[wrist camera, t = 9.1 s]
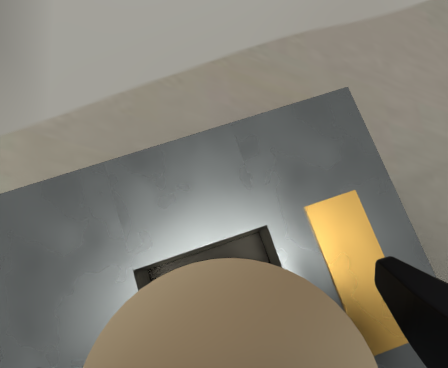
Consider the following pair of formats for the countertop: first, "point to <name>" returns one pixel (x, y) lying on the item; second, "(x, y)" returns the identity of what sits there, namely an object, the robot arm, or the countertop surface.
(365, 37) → the countertop surface
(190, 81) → the countertop surface
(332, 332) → the barrel peg
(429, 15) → the countertop surface
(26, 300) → the grey peg hole board
